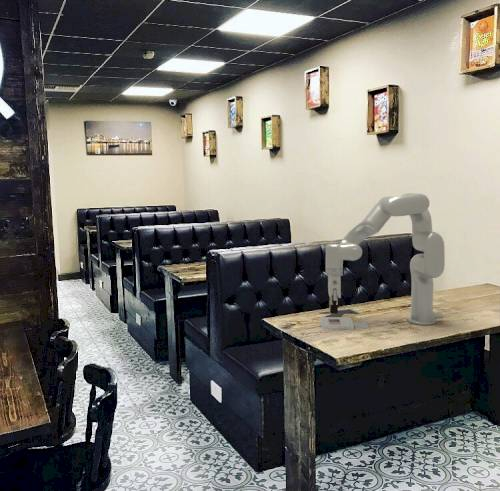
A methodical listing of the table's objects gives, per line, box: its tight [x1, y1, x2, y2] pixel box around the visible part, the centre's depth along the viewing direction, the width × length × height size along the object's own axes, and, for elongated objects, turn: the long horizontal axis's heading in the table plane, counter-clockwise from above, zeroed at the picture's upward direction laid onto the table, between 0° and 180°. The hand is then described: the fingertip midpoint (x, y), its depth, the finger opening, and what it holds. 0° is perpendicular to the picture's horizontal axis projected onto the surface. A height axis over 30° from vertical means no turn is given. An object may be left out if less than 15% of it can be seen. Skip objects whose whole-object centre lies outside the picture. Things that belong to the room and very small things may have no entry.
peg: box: [328, 297, 339, 315], centre depth 225 cm, size 4×4×7 cm
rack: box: [319, 316, 370, 330], centre depth 226 cm, size 21×12×4 cm, turn 85°
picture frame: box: [313, 308, 364, 317], centre depth 246 cm, size 16×3×21 cm
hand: (333, 311), depth 225 cm, fingers closed on peg, 3 cm apart
